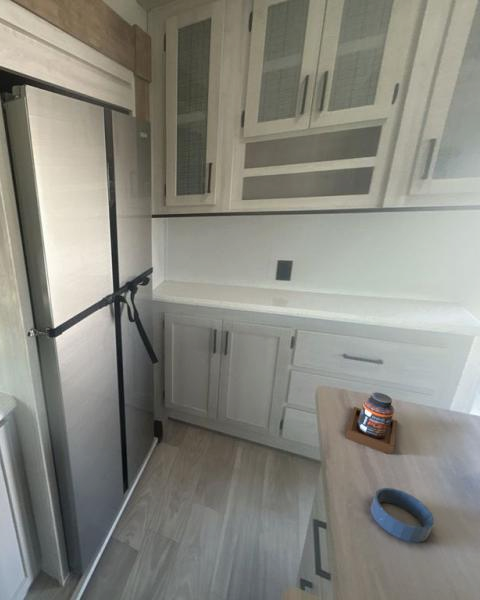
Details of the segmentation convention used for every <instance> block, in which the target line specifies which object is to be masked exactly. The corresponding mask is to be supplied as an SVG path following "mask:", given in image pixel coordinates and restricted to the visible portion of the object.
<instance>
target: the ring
mask: <svg viewBox="0 0 480 600" xmlns="http://www.w3.org/2000/svg"><path fill="white" fill-rule="evenodd" d="M381 503H388V504H392V505H395V506H397V507H399V508H402V509H404V510H406V511H407V512H408V513H410V514H411V515H413V516H414V517H415V518H416V519H417V520H418V521H419V523H420V524H421V525H422V526H414V525H411V524H407V523H404V522H403V521H401V520H398V519H397V518H396V517H394V516H393V515H391V514H390V513H389V512H387V511H386V510H385V508H383V506H382V505H381ZM369 510H370V513H371V516H372V517H373V518H374V520H375V522H376V523H377V524H378V525H379V526H380V527H381V528H382V529H383V530H385V531H386V532H388V533H389V534H390V535H392V536H394V537H396V538H398V539H400V540H403V541H406V542H408V543H416V544H418V543H423V542H425V541H426V540H427V539H428V537H429V535H430V533H431V531H432V529H433V526H434V524H435V518H434V516H433V514H432V512H431V510H429V508H428V507H427V506H426V505H425V504H424V503H423V502H422V501H421V500H419V499H418V498H416V497H415V496H413V495H411V494H409V493H407V492H405V491H403V490H400V489H396V488H393V487H382V488H379V489H378V490H376V491H375V493H374V496H373V499H372V502H371V505H370V508H369Z"/></svg>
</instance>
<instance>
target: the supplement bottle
mask: <svg viewBox="0 0 480 600" xmlns="http://www.w3.org/2000/svg"><path fill="white" fill-rule="evenodd" d="M392 403H393V399H392V397H390V396H389V395H388V394H385V393H383V392H375V391H374V392H372V393H371V394H370V397H367V398H365V399H364V401H363V402H362V406H361V408H360V409H361V413H360V416H359V419H358V422H357V428H358V429H359V431H360V432H362V433H363V434H365V435H366V436H369V437H372V438H377V439H380V438H384V437H385V436H386V433H387V431H388V428H389V425H390V422H391V419H393V416H394V413H395V408H394V406H393V405H392Z"/></svg>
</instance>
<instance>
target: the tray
mask: <svg viewBox="0 0 480 600" xmlns="http://www.w3.org/2000/svg"><path fill="white" fill-rule="evenodd" d="M361 409H362V408H360V407H357V406H353V409H352V412H351V416H350V419H349V422H348V426H347V430H346V433H345V436H344V438H345V439H347V440H350V441H353V442H356V443H357V444H361V445H363V446H366V447H367V448H368V447H369V448H372V449H374V450H376V451H379V452H382V453H384V454H387V455H393V452H394V449H395V445H396V435H397V430H398V429H397V428H398V420H397V419H393V418H392V419H391V422H390V425H389V428H388V431H387V433H386V436H385V437H384V438H380V439H377V438H372V437H369V436H366V435H365V434H363V433H362V432H360V431H359V429H358V428H357V422H358V419H359V416H360V413H361Z"/></svg>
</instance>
